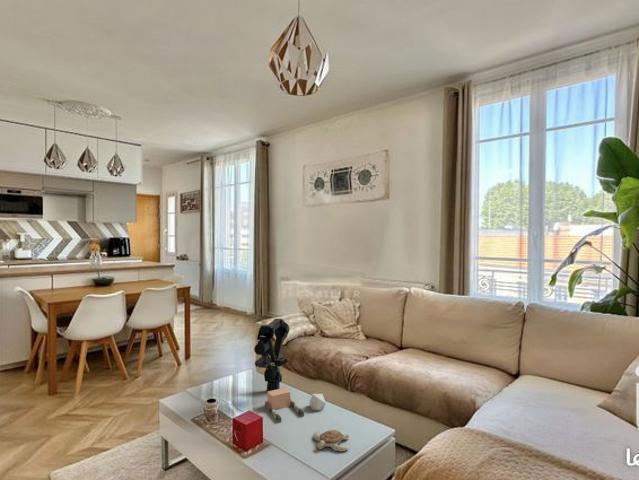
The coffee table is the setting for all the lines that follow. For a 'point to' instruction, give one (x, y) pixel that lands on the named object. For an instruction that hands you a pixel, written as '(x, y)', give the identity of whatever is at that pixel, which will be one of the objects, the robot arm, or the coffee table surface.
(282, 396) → the block
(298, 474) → the coffee table surface
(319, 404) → the die
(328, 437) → the decorative turtle
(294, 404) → the track
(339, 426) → the coffee table surface
